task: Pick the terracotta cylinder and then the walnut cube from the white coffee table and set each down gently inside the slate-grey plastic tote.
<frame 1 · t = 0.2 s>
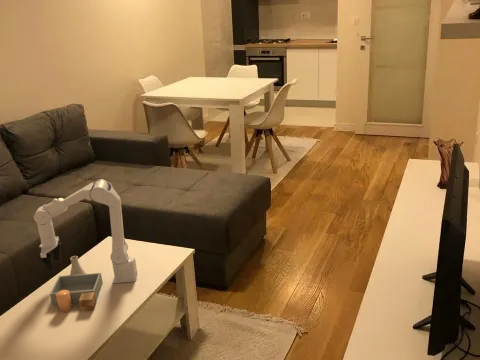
hand: (53, 264, 216), 10 cm above the table, fingers open, 7 cm apart
slate tote: (78, 293, 213), on the table
flask: (78, 278, 224), on the table
walnut cube: (89, 307, 204), on the table
terracotta cylinder: (65, 308, 203), on the table
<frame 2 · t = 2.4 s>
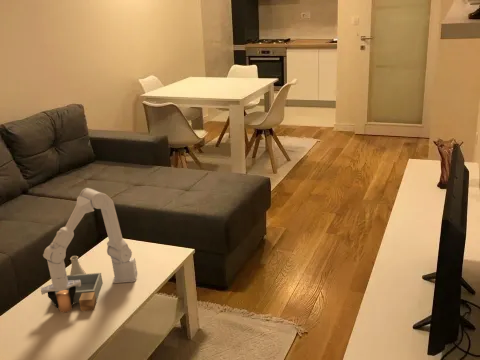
hand: (65, 305, 203), 2 cm above the table, fingers closed on terracotta cylinder, 5 cm apart
terracotta cylinder: (65, 308, 203), on the table, touching gripper
everything else where it was.
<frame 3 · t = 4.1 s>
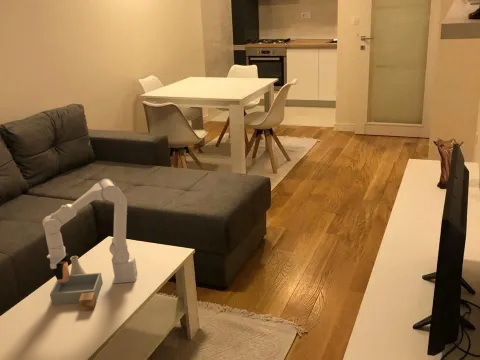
hand: (61, 275, 209), 9 cm above the table, fingers closed on terracotta cylinder, 5 cm apart
terracotta cylinder: (63, 279, 210), point 7 cm above the table, touching gripper
everything else where it was.
when the fingers open (3 cm above the table, at t = 6.0 s): terracotta cylinder stays where it is, resting on slate tote.
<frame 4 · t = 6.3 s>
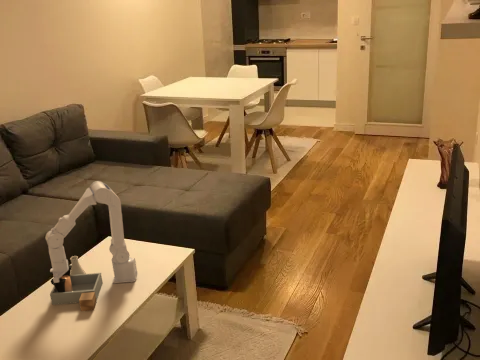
hand: (64, 288, 211), 3 cm above the table, fingers open, 7 cm apart
terracotta cylinder: (66, 293, 212), point 1 cm above the table, touching slate tote
everything else where it was.
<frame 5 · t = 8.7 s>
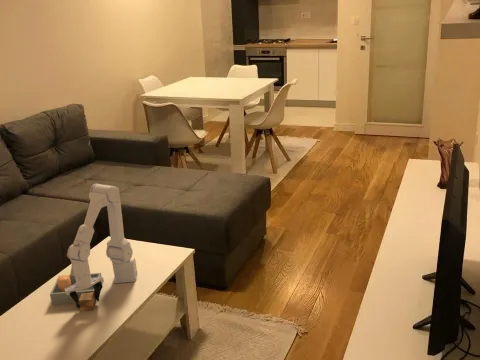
hand: (88, 303, 203), 2 cm above the table, fingers open, 7 cm apart
nothing on the table moved.
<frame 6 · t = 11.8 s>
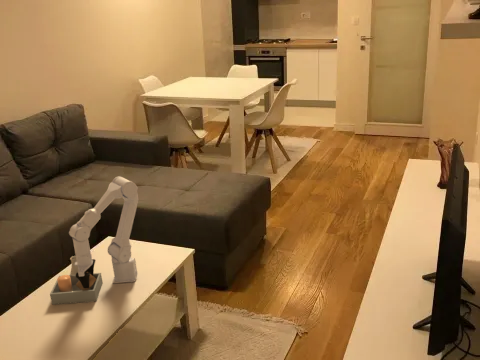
hand: (88, 282, 211), 5 cm above the table, fingers open, 7 cm apart
walnut cube: (91, 285, 212), point 3 cm above the table, tilted 46°, touching gripper, slate tote
everything else where it was.
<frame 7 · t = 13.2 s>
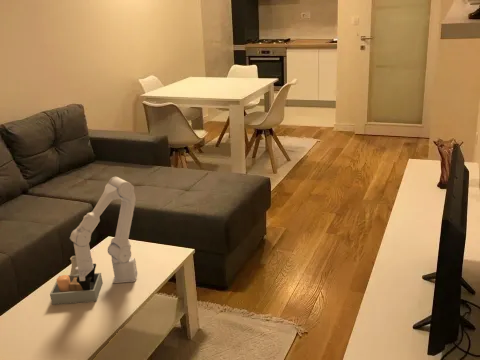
hand: (89, 286, 212), 3 cm above the table, fingers open, 7 cm apart
walnut cube: (85, 286, 212), point 3 cm above the table, tilted 90°, touching slate tote
everything else where it was.
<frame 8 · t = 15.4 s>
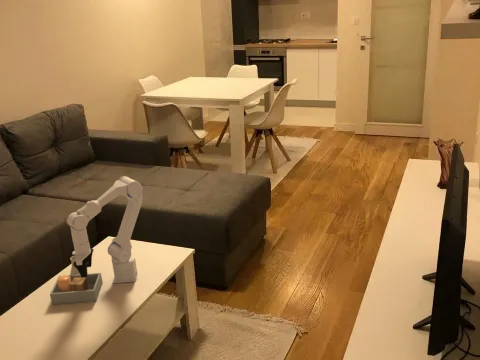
hand: (86, 271, 209), 10 cm above the table, fingers open, 7 cm apart
nothing on the table moved.
at the end: walnut cube inside the target area on the slate tote (3.2 cm from its centre), point 3.1 cm above the slate tote's base; terracotta cylinder inside the target area on the slate tote (4.6 cm from its centre), point 0.7 cm above the slate tote's base; terracotta cylinder tilted 2° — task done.
